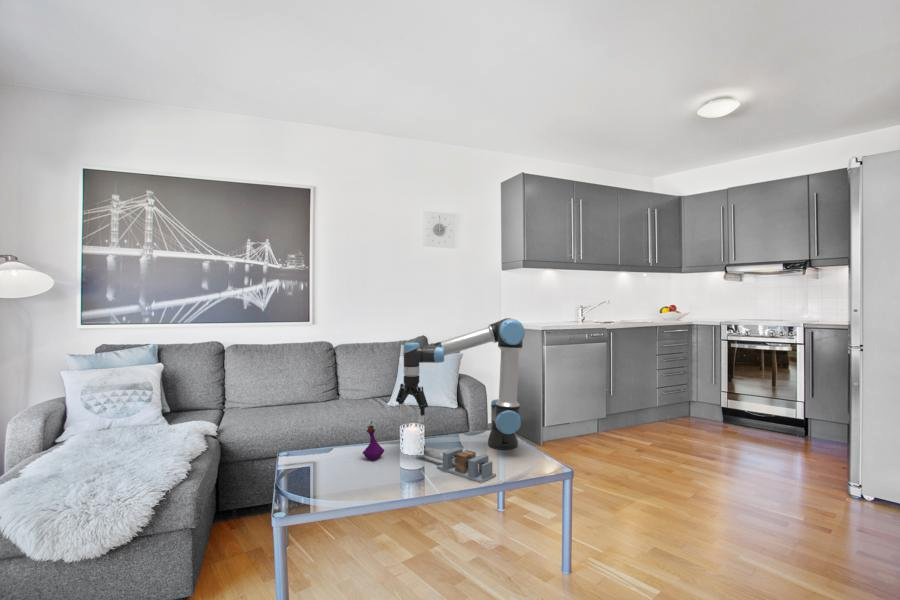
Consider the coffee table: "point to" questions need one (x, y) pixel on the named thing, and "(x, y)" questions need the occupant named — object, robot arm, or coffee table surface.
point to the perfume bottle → (373, 445)
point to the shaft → (436, 455)
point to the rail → (472, 471)
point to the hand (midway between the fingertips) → (411, 419)
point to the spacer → (463, 460)
